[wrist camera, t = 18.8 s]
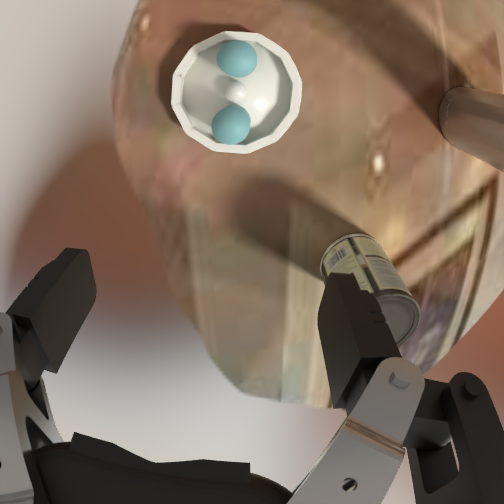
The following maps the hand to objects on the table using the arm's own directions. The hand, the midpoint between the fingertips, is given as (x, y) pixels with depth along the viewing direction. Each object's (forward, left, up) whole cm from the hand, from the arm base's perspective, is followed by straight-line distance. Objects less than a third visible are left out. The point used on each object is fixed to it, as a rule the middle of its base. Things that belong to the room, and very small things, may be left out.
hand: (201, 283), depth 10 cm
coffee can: (-18, +17, -30) cm, 39 cm away
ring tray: (+1, -5, -30) cm, 31 cm away
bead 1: (+1, -9, -29) cm, 31 cm away
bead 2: (+1, -1, -29) cm, 29 cm away
